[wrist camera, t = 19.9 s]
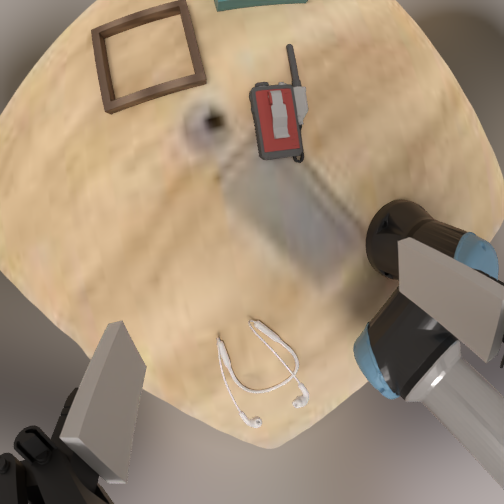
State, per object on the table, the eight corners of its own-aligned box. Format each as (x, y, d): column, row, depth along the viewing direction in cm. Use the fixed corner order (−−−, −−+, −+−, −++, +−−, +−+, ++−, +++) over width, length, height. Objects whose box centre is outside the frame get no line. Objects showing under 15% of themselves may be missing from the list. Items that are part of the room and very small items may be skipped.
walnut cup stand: (186, 6, 34) (185, -2, 31) (206, 83, 39) (206, 79, 36) (96, 36, 33) (91, 30, 30) (110, 114, 38) (104, 111, 35)
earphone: (264, 308, 48) (317, 403, 42) (276, 316, 64) (315, 387, 57) (194, 345, 48) (243, 437, 42) (222, 345, 64) (260, 414, 58)
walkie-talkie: (312, 160, 46) (293, 46, 39) (322, 161, 42) (301, 37, 35) (259, 167, 45) (240, 49, 38) (264, 168, 41) (243, 39, 34)
